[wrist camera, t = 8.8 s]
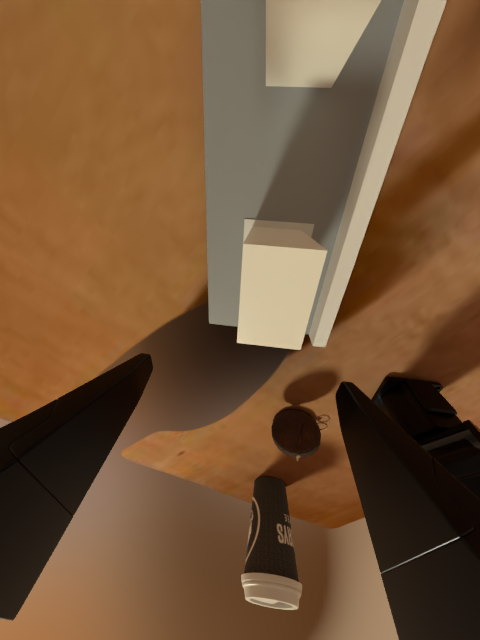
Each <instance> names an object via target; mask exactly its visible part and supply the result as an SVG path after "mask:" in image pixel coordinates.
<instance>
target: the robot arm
mask: <svg viewBox="0 0 480 640" xmlns="http://www.w3.org/2000/svg"><path fill="white" fill-rule="evenodd" d="M152 370H153V364H152V359H151V356H150V354H145V353H141V354H139V355H137V356H135V357H133V358H131V359H129V360H128V361H126V362H124V363H122V364H120V365H118V366H117V367H115V368H113V369H111V370H109V371H107V372H106V373H104V374H102V375H100V376H98V377H96V378H95V379H93V380H91V381H89V382H87V383H85V384H84V385H82V386H80V387H78V388H76V389H74V390H73V391H71V392H69V393H67V394H65V395H63V396H61V397H60V398H58V400H57V399H56V400H54V401H52V402H50V403H49V404H47V405H45V406H43V407H41V408H39V409H37V410H35V411H33V412H32V413H30V414H28V415H26V416H24V417H22V418H20V419H18V420H16V421H14V422H12V423H10V424H8V425H6V426H4V427H1V428H0V619H6V620H14V618H15V617H16V615H17V614H18V612H19V610H20V609H21V607H22V605H23V604H24V602H25V600H26V598H27V597H28V595H29V593H30V591H31V590H32V588H33V586H34V584H35V583H36V581H37V579H38V577H39V576H40V574H41V572H42V570H43V568H44V567H45V565H46V563H47V562H48V560H49V558H50V556H51V555H52V553H53V551H54V549H55V548H56V546H57V544H58V542H59V541H60V539H61V537H62V535H63V534H64V532H65V530H66V528H67V527H68V525H69V523H70V521H71V520H72V518H73V515H74V514H75V512H76V511H77V509H78V507H79V505H80V504H81V502H82V500H83V498H84V497H85V495H86V493H87V491H88V490H89V488H90V486H91V484H92V483H93V481H94V479H95V477H96V475H97V474H98V472H99V470H100V469H101V467H102V465H103V463H104V461H105V460H106V458H107V456H108V455H109V453H110V451H111V449H112V447H113V446H114V444H115V442H116V441H117V439H118V437H119V435H120V433H121V432H122V430H123V428H124V427H125V425H126V423H127V421H128V420H129V418H130V416H131V414H132V413H133V411H134V409H135V407H136V405H137V404H138V402H139V400H140V398H141V396H142V394H143V391H144V389H145V387H146V384H147V382H148V380H149V377H150V375H151V373H152ZM442 388H443V386H442V385H441V384H440V383H436V382H428V381H419V380H411V379H403V378H394V377H387V378H385V380H384V381H383V383H382V384H381V386H380V388H379V389H378V391H377V393H376V394H375V396H374V398H373V399H372V400H371V399H369V398H368V397H367V396H366V395H365V394H364V393H363V392H362V391H361V390H360V389H359V388H358V387H357V386H355V385H354V384H353V383H351V382H345V381H343V382H341V384H340V386H339V388H338V390H337V392H336V403H337V409H338V415H339V421H340V427H341V432H342V436H343V440H344V443H345V447H346V451H347V454H348V458H349V461H350V465H351V468H352V472H353V476H354V479H355V483H356V486H357V490H358V494H359V497H360V501H361V504H362V508H363V511H364V515H365V519H366V522H367V526H368V529H369V533H370V537H371V540H372V544H373V547H374V551H375V554H376V558H377V561H378V565H379V569H380V572H381V573H382V574H381V576H382V580H383V583H384V587H385V591H386V594H387V598H388V602H389V605H390V609H391V612H392V616H393V619H394V623H395V627H396V630H397V634H398V637H399V640H480V429H479V428H478V427H477V426H476V425H474V424H473V423H472V422H471V421H470V420H467V421H464V422H463V423H462V421H461V420H460V419H459V418H458V417H457V416H456V414H457V412H456V410H455V409H454V408H453V407H452V406H451V405H450V404H449V403H448V401H447V400H446V399H445V398H444V397H443V396H442V395H441V394H440V393H439V392H440V391H441V390H442Z"/></svg>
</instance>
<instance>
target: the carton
mask: <svg viewBox="0 0 480 640" xmlns="http://www.w3.org/2000/svg"><path fill="white" fill-rule="evenodd" d="M326 254H327V250H326V249H325V248H324V247H322V246H321V245H320V244H318V243H317V242H316V241H315V240H313V239H312V238H311V237H310V236H308V235H307V234H306V233H305V232H303V231H302V230H292V229H279V228H266V227H252V228H251V230H250V232H249V234H248V236H247V238H246V240H245V241H244V243H243V255H242V271H241V287H240V303H239V319H238V335H237V343H244V344H252V345H261V346H270V347H279V348H287V349H296V350H301V346H302V343H303V339H304V335H305V332H306V328H307V324H308V321H309V317H310V313H311V310H312V306H313V302H314V299H315V295H316V291H317V288H318V284H319V280H320V277H321V273H322V269H323V266H324V262H325V258H326Z"/></svg>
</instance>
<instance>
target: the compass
mask: <svg viewBox="0 0 480 640" xmlns="http://www.w3.org/2000/svg"><path fill="white" fill-rule="evenodd" d="M321 423H322V424H325V425H326V428H324V429H319V426H318V424H321ZM327 427H328V426H327V424H326V423H323V422H320V423H316V421H315V420H313V419H312V417H311V416H310V415H309V414H307V413H305V412H302V411H299V410H286V411H283V412H281V413H279V414H277V415H276V416H275V417H274V420H273V424H272V437H273V440H274V443H275V444H276V446H277V447H278V449H279V450H281V451H282V452H283V453H284V454H287V455H289V456H291V457H296V459H297V461H299V460H298V459H299V458H303V457H308V456H310V455H312V454H313V453H315V452H316V451H317V450H318V447H319V445H320V440H321V433H320V430H325V429H327Z"/></svg>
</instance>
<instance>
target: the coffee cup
mask: <svg viewBox="0 0 480 640" xmlns="http://www.w3.org/2000/svg"><path fill="white" fill-rule="evenodd" d="M241 577H242V585H243V588H244V591H245V599H246V600H247V601H249V602H251V603H254V604H257V605H261V606H266V607H271V608H277V609H287V610H296V609H298V606H299V598H300V597H301V592H302V585H301V584H300V583H299V581H298V574H297V567H296V560H295V553H294V546H293V539H292V532H291V524H290V518H289V510H288V503H287V495H286V488H285V483H284V482H283V481H282V480H280V479H278V478H274V477H260V478H257V479H256V480H255V483H254V492H253V501H252V510H251V520H250V528H249V537H248V546H247V554H246V563H245V572H244V574H242V575H241Z"/></svg>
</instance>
